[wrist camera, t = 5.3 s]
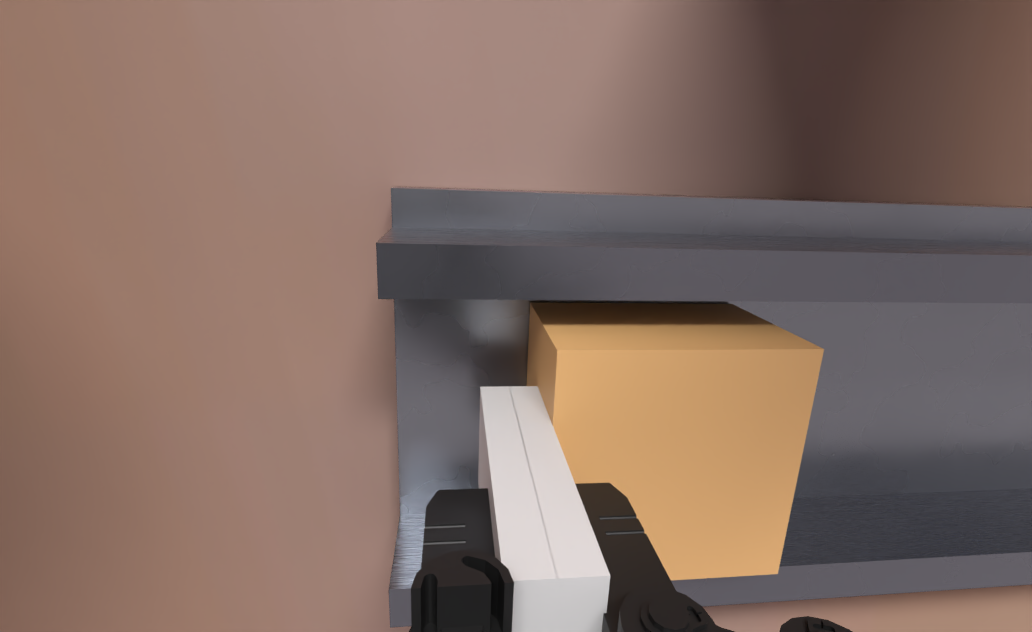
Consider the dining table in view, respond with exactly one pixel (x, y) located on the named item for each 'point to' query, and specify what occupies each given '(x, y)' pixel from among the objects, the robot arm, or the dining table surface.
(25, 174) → the dining table surface
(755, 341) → the block
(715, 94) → the dining table surface
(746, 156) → the dining table surface
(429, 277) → the chute
